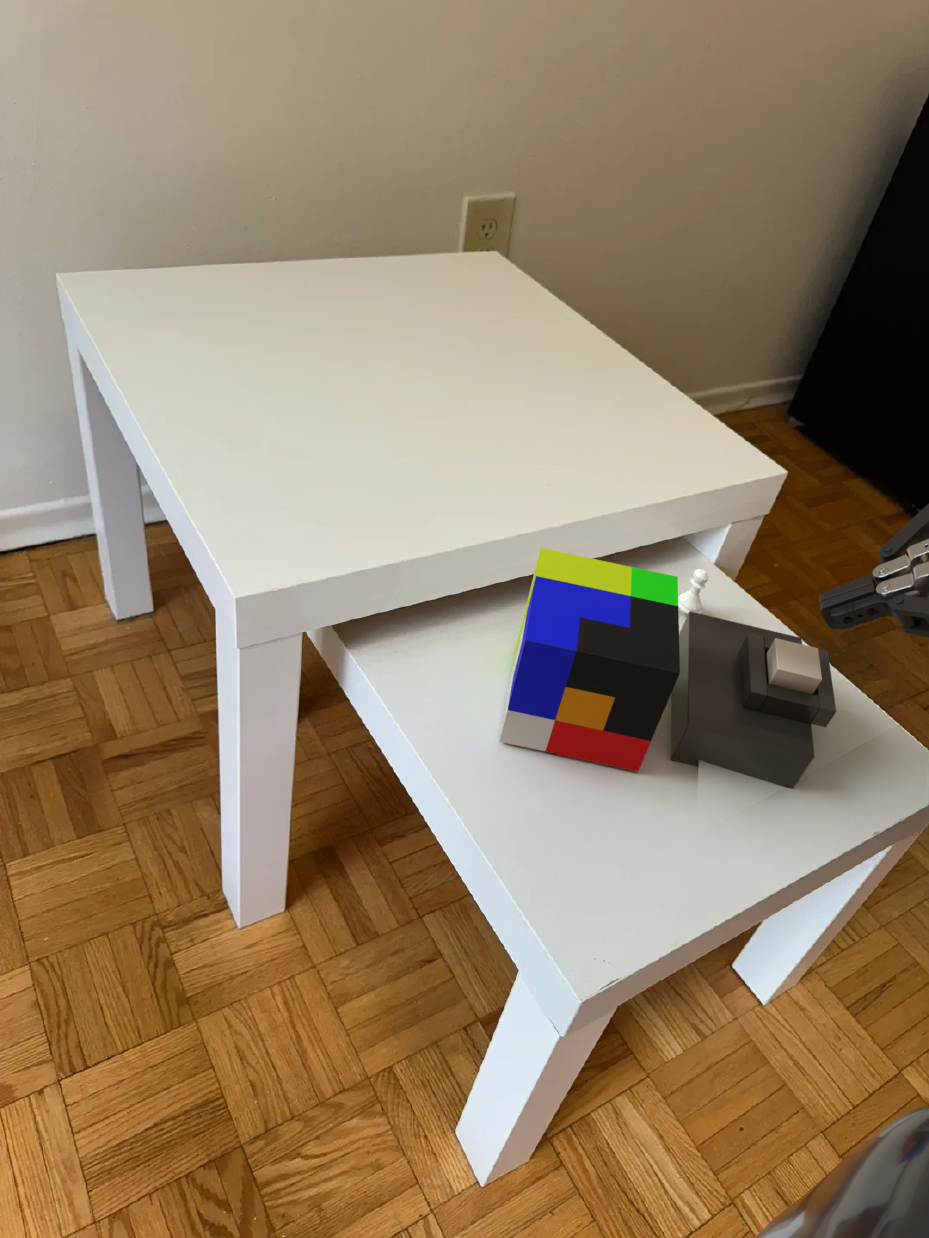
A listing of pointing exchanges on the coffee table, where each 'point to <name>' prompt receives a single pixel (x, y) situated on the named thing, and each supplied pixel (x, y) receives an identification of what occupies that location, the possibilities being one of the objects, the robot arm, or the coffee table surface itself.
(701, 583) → the chess pawn
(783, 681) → the beige push button
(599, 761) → the puzzle toy
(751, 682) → the dark grey block
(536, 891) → the coffee table surface
